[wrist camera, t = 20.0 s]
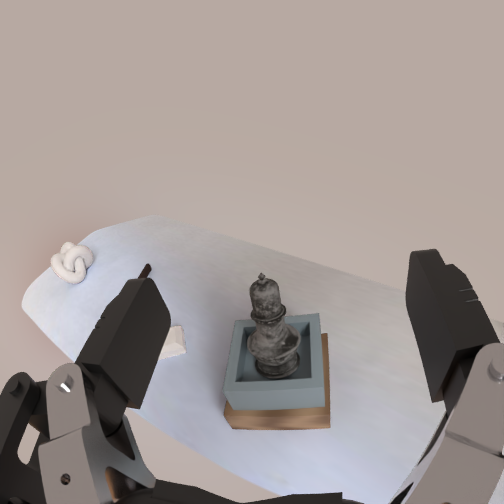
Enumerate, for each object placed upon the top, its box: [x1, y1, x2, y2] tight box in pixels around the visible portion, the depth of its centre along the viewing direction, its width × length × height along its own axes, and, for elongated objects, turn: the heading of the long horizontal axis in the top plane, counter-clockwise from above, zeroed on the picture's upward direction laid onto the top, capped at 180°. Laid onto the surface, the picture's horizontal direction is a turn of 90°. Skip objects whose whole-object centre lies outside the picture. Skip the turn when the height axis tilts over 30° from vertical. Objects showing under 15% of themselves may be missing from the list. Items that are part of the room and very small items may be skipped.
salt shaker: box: [247, 273, 301, 379], centre depth 32 cm, size 6×6×12 cm
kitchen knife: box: [138, 264, 151, 279], centre depth 62 cm, size 18×1×2 cm, turn 172°
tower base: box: [224, 333, 330, 430], centre depth 37 cm, size 12×12×4 cm
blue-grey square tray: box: [223, 313, 325, 410], centre depth 35 cm, size 10×10×4 cm
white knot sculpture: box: [51, 242, 93, 284], centre depth 72 cm, size 11×12×9 cm
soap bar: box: [158, 326, 187, 360], centre depth 48 cm, size 5×9×3 cm, turn 104°
